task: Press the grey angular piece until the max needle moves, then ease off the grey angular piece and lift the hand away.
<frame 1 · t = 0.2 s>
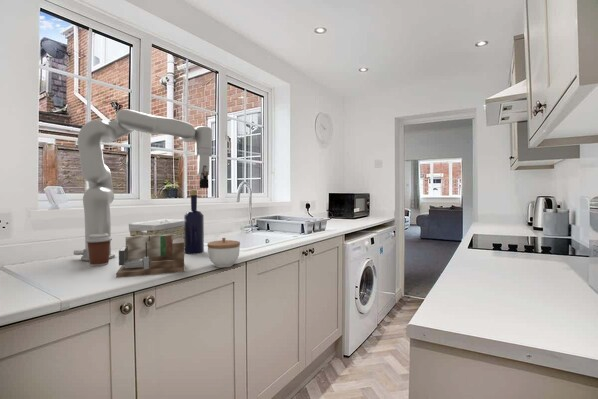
hand: (203, 188, 154), 31 cm above the worktop, fingers open, 9 cm apart
grey angular piece: (132, 257, 117), point 5 cm above the worktop, slide at 0.0 cm
storage basket: (159, 251, 159), on the worktop
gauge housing: (153, 269, 120), on the worktop
bottle: (194, 252, 154), on the worktop
coffee cup: (99, 264, 129), on the worktop
lidded bowl: (223, 265, 127), on the worktop
max needle: (146, 255, 114), point 7 cm above the worktop, slide at 0.0 cm
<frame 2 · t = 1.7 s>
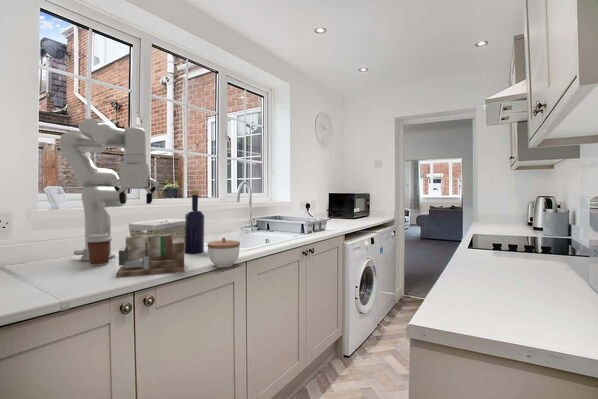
hand: (136, 203, 125), 25 cm above the worktop, fingers open, 9 cm apart
nothing on the worktop moved.
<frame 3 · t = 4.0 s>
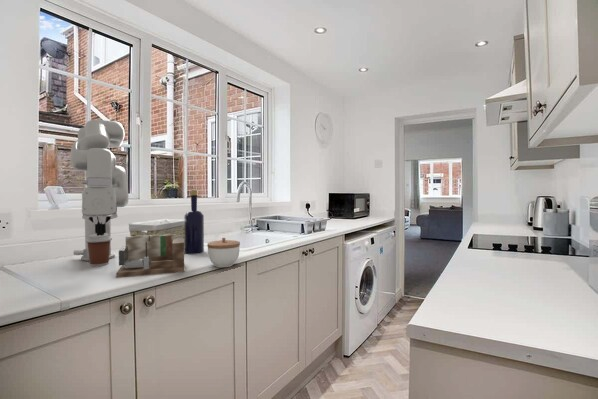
hand: (100, 235, 113), 14 cm above the worktop, fingers closed
nothing on the worktop moved.
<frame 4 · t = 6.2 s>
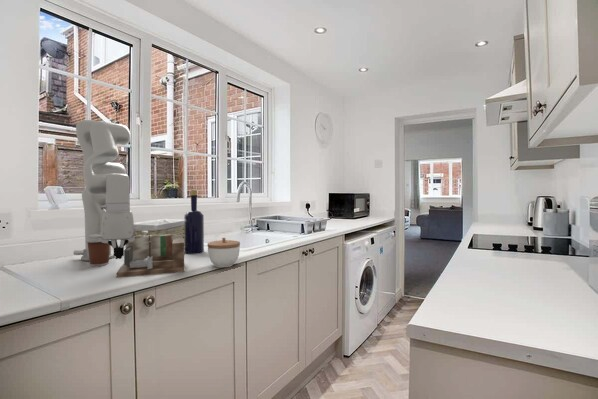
hand: (118, 258, 116), 5 cm above the worktop, fingers closed
grey angular piece: (137, 257, 117), point 5 cm above the worktop, slide at 1.7 cm, touching gripper, max needle
max needle: (149, 255, 114), point 7 cm above the worktop, slide at 1.2 cm, touching grey angular piece
everything else where it was.
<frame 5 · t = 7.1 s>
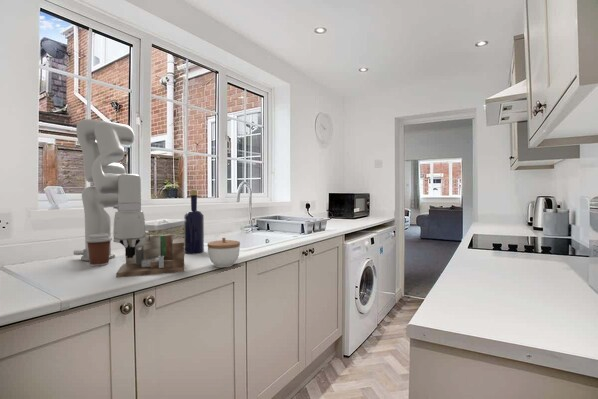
hand: (130, 257, 117), 5 cm above the worktop, fingers closed
grey angular piece: (148, 256, 119), point 5 cm above the worktop, slide at 5.4 cm, touching gripper, max needle
max needle: (161, 254, 116), point 7 cm above the worktop, slide at 4.9 cm, touching grey angular piece
everything else where it was.
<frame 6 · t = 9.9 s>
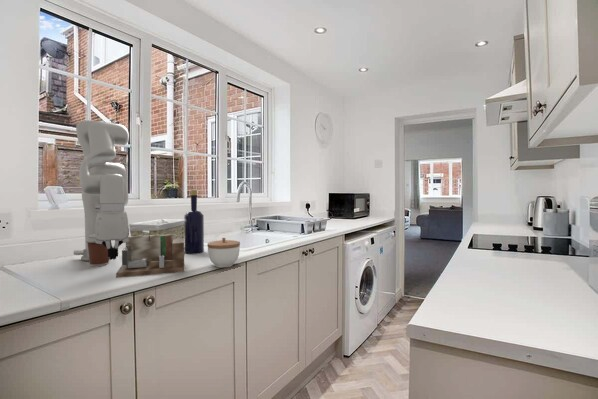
hand: (113, 258, 115), 5 cm above the worktop, fingers closed
grey angular piece: (135, 257, 117), point 5 cm above the worktop, slide at 1.0 cm
max needle: (161, 254, 116), point 7 cm above the worktop, slide at 5.0 cm
everything else where it was.
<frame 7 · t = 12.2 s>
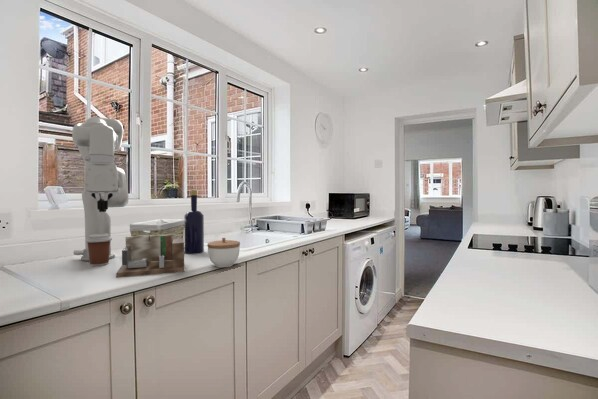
hand: (102, 211, 115), 22 cm above the worktop, fingers closed
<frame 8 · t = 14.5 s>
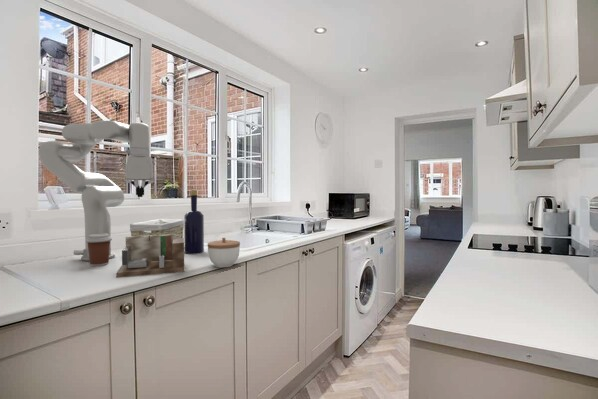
hand: (140, 196, 134), 27 cm above the worktop, fingers closed
at the end: max needle slide at 5.0 cm; grey angular piece slide at 1.0 cm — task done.
